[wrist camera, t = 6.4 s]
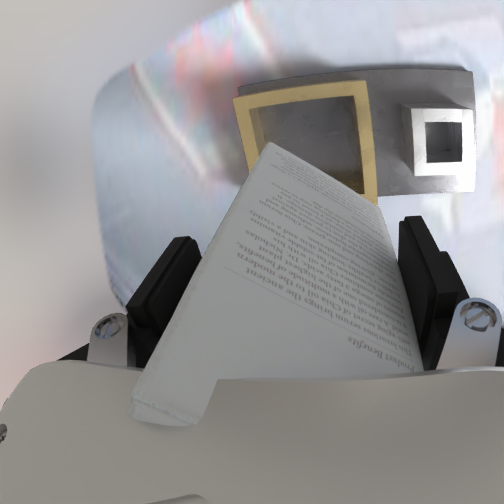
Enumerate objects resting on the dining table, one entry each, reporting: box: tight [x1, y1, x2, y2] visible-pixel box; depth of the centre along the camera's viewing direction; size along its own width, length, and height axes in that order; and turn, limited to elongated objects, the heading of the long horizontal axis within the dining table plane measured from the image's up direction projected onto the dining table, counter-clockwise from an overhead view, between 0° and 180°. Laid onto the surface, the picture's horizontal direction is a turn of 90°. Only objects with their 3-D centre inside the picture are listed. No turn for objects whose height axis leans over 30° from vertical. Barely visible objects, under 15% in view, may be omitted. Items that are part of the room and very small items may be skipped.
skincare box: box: [127, 142, 424, 426], centre depth 10 cm, size 6×4×12 cm
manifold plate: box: [232, 69, 476, 205], centre depth 23 cm, size 20×11×4 cm, turn 103°
